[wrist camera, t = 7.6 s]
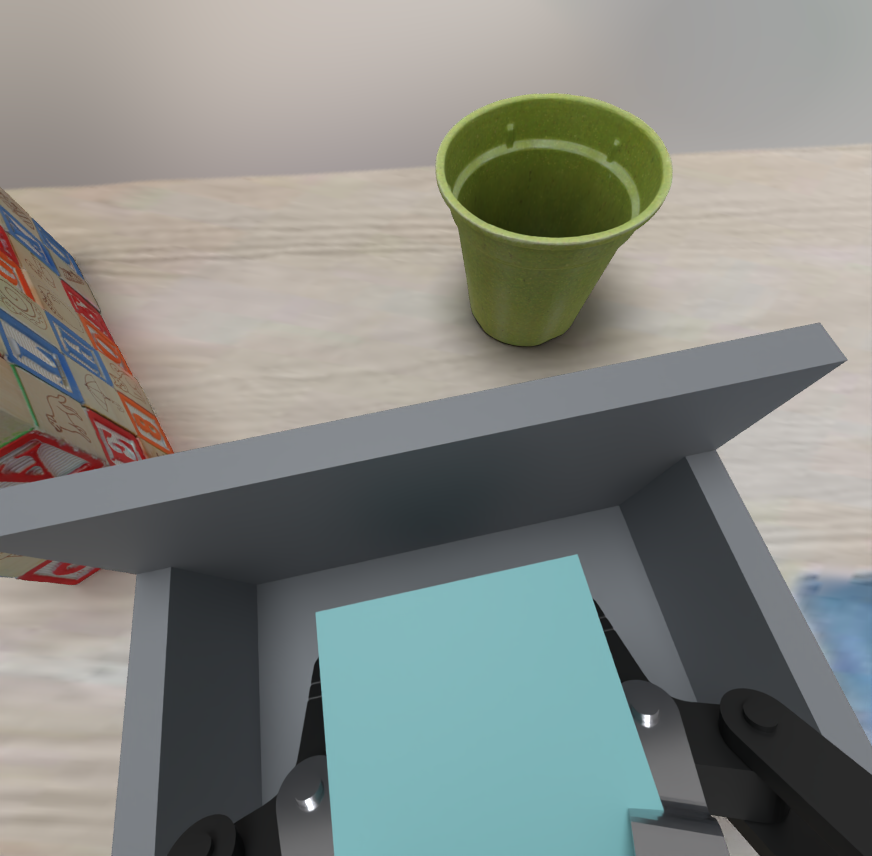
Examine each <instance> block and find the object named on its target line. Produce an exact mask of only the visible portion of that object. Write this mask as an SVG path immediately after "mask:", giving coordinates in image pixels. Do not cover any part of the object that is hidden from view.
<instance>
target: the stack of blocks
mask: <svg viewBox="0 0 872 856" xmlns="http://www.w3.org/2000/svg"><path fill="white" fill-rule="evenodd" d="M99 312H100V309H99V307H98V305H97V303H96V301H95V299H94V297H93V295H92V293H91V291H90V289H89V287H88V285H87V283H86V282H85V280H84V278H83V276H82V274H81V272H80V270H79V268H78V267H77V264H76V263H75V261H74V259H73V257H72V256H71V255H70V254H69V253H68V252H67V251H66V250H65V249H64V248H63V247H62V246H61V245H60V244H59V243H58V242H56V241H55V240H54V239H53V237H52V236H51V235H50V234H48V233H47V232H46V231H45V230H44V229H43V228H42V227H41V226H40V225H39V224H38V223H37V222H36V221H35V220H34V219H33V218H31V217H30V216H29V214H28V213H27V212H26V211H25V210H24V209H23V208H22V207H21V206H20V205H19V204H18V203H16V202H15V201H14V200H13V199H12V198H11V197H10V196H9V195H8V194H7V193H6V192H5V191H4V190H3V189H2V188H1V187H0V489H1V488H5V487H10V486H15V485H20V484H25V483H30V482H35V481H40V480H45V479H50V478H55V477H60V476H65V475H70V474H75V473H80V472H84V471H89V470H94V469H99V468H104V467H109V466H114V465H119V464H124V463H129V462H134V461H139V460H144V459H149V458H154V457H159V456H163V455H168V454H173V453H174V452H173V450H172V448H171V446H170V444H169V442H168V440H167V438H166V436H165V434H164V432H163V430H162V428H161V426H160V424H159V422H158V420H157V418H156V417H155V415H154V412H153V410H152V408H151V406H150V404H149V402H148V400H147V398H146V396H145V394H144V392H143V390H142V388H141V386H140V384H139V382H138V381H137V379H136V378H134V377H133V376H132V373H131V371H130V370H129V368H128V366H127V364H126V362H125V360H124V358H123V356H122V354H121V352H120V350H119V348H118V346H117V345H116V344H115V343H114V341H113V339H112V336H111V334H110V332H109V330H108V328H107V327H106V325H105V322H104V321H103V319H102V317H101V315H100V314H99ZM100 569H101V568H95V567H89V566H83V565H76V564H70V563H64V562H58V561H52V560H46V559H40V558H33V557H27V556H21V555H15V554H9V553H3V552H0V577H10V578H13V577H15V578H16V579H21V580H27V581H38V582H50V583H58V584H66V585H76V584H78V583H80V582H81V581H83V580H84V579H86V578H87V577H89V576H90V575H92V574H94V573H95V572H97V571H98V570H100Z"/></svg>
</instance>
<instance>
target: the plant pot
mask: <svg viewBox="0 0 872 856" xmlns="http://www.w3.org/2000/svg"><path fill="white" fill-rule="evenodd" d="M672 172H673V170H672V162H671V158H670V155H669V153H668V152H667V149H666V147H665V145H664V143H663V141H662V140H661V138H660V137H659V136H658V135H657V134H656V133H655V132H654V130H653V129H652V128H650V127H649V126H648V125H647V124H646V123H644V122H643V121H642V120H641V119H639V118H638V117H636V116H634V115H633V114H631V113H629V112H627V111H625V110H622V109H620V108H618V107H616V106H613V105H611V104H608V103H606V102H603V101H600V100H597V99H593V98H589V97H583V96H573V95H570V94H558V93H552V94H528V95H522V96H517V97H512V98H508V99H503V100H499V101H497V102H494V103H491V104H488V105H486V106H484V107H481V108H479V109H477V110H476V111H474V112H472V113H470V114H469V115H467V116H466V117H464V118H463V119H461V120H460V121H459V122H458V123H457V124H456V125H455V126H454V127H453V128H452V129H451V130H450V131H449V132H448V133H447V135H446V136H445V138H444V140H443V141H442V143H441V145H440V147H439V150H438V153H437V158H436V179H437V184H438V188H439V190H440V193H441V195H442V197H443V199H444V201H445V202H446V204H447V206H448V207H449V208H450V210H451V214H452V216H453V219H454V221H455V223H456V225H457V227H458V230H459V235H460V242H461V248H462V254H463V260H464V266H465V272H466V278H467V285H468V292H469V299H470V304H471V310H472V313H473V315H474V317H475V318H476V320H477V321H478V323H479V324H480V325H481V327H482V328H483V330H484V331H485V332H486V333H487V334H489V335H490V336H491V337H493V338H495V339H497V340H499V341H501V342H504V343H507V344H511V345H517V346H535V345H540V344H542V343H544V342H546V341H548V340H550V339H552V338H555V337H557V336H560V335H562V334H563V333H565V332H566V331H567V330H568V329H569V327H570V326H571V325H572V323H573V321H574V320H575V318H576V316H577V315H578V313H579V311H580V310H581V308H582V306H583V305H584V303H585V301H586V300H587V298H588V296H589V295H590V293H591V291H592V290H593V288H594V286H595V285H596V283H597V282H598V280H599V278H600V277H601V275H602V273H603V272H604V270H605V268H606V267H607V265H608V264H609V262H610V260H611V259H612V257H613V256H614V254H615V252H616V251H617V249H618V248H619V247H620V246H621V245H622V244H623V243H625V242H626V241H627V240H628V239H629V238H630V236H631V235H632V234H633V233H634V231H635V230H637V229H638V228H640V227H641V226H642V225H644V224H645V223H646V222H647V221H648V220H649V219H650V218H651V217H653V216H654V215H655V213H656V212H657V211H658V210H659V208H660V207H661V205H662V204H663V202H664V200H665V198H666V196H667V194H668V192H669V190H670V187H671V183H672Z"/></svg>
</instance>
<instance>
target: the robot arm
mask: <svg viewBox="0 0 872 856" xmlns="http://www.w3.org/2000/svg"><path fill="white" fill-rule="evenodd" d="M592 599H593V598H592ZM593 602H594V605H595V608H596V611H597V614H598V617H599V620H600V623H601V626H602V628H603V631H604V634H605V637H606V640H607V643H608V646H609V649H610V652H611V655H612V658H613V661H614V664H615V667H616V670H617V673H618V676H619V679H620V682H621V685H622V688H623V691H624V694H625V697H626V700H627V702H628V705H629V708H630V711H631V714H632V717H633V720H634V723H635V726H636V729H637V732H638V735H639V738H640V741H641V744H642V747H643V750H644V753H645V756H646V759H647V762H648V765H649V768H650V771H651V774H652V776H653V779H654V782H655V785H656V788H657V791H658V794H659V797H660V800H661V803H662V806H663V809H664V810H653V809H636V808H628V811H629V820H630V829H631V839H632V848H633V856H730V855H729V851H728V848H727V845H726V842H725V839H724V836H723V833H722V830H721V828H720V825H719V823H718V821H717V820H716V819H715V818H713V817H711V815H715V816H722V817H727V819H728V820H729V821H730V822H731V823H732V824H733V825H734V827H735V828H736V829H737V830H738V831H739V832H740V833H741V835H742V836H743V837H744V838H745V839H746V840H747V842H748V843H749V844H750V845H751V846H752V847H753V848H754V850H755V851H756V852H757V853H758V854H759V855H760V856H872V774H870V773H869V772H868V771H867V770H865V769H864V768H863V767H861V766H860V765H859V764H858V763H856V762H855V761H854V760H853V759H851V758H850V757H849V756H848V755H846V754H845V753H844V752H843V751H841V750H840V749H839V748H838V747H836V746H835V745H834V744H833V743H831V742H830V741H829V740H828V739H826V738H825V737H824V736H822V735H821V734H820V733H819V732H817V731H816V730H815V729H814V728H812V727H811V726H810V725H809V724H807V723H806V722H805V721H804V720H802V719H801V718H800V717H799V716H797V715H796V714H795V713H794V712H792V711H791V710H790V709H789V708H787V707H786V706H785V705H783V704H782V703H781V702H779V701H778V700H776V699H775V698H773V697H771V696H769V695H767V694H765V693H763V692H760V691H757V690H753V689H747V688H737V689H733V690H730V691H728V692H727V693H725V694H724V695H723V697H722V698H721V701H720V704H710V703H699V702H689V701H683V700H680V699H676V698H674V697H671V696H670V695H669V694H668V693H667V692H666V691H664V690H663V689H662V688H660V687H658V686H657V685H655V684H652V683H651V682H650V681H649V680H648V679H647V677H646V676H645V675H644V673H643V672H642V670H641V669H640V667H639V666H638V664H637V663H636V661H635V660H634V658H633V657H632V655H631V654H630V652H629V651H628V649H627V647H626V646H625V644H624V643H623V641H622V640H621V638H620V637H619V635H618V634H617V632H616V631H615V630H614V629H613V626H612V625H611V623H610V622H609V620H608V619H607V618H606V617H605V614H604V613H603V611H602V610H601V608H600V607H599V605H598V604H597V602H596V601H595V600H594V599H593ZM308 698H309V701H308V702H307V707H306V713H305V719H304V724H303V730H302V735H301V741H300V747H299V752H298V758H297V762H296V765H295V767H294V768H293V769H292V770H291V771H290V772H289V773H288V775H287V776H286V778H285V779H284V781H283V783H282V784H281V787H280V789H279V791H278V794H277V795H276V796H275V797H274V798H272V799H271V800H270V801H269V802H267V803H266V804H264V805H263V806H261V807H260V808H258V809H256V810H255V811H253V812H251V813H250V814H248V815H246V816H245V817H243V818H242V819H240V820H238V821H237V822H235V823H233V822H232V820H231V819H230V818H229V817H227V816H225V815H222V814H214V815H210V816H207V817H205V818H202V819H201V820H199V821H197V822H196V823H194V824H193V825H192V826H190V827H189V828H188V829H187V830H186V831H185V832H184V833H183V834H182V835H181V836H180V837H179V838H178V840H177V841H176V842H175V844H174V845H173V846H172V848H171V849H170V851H169V853H168V854H167V856H334V845H333V832H332V820H331V807H330V794H329V781H328V768H327V755H326V742H325V729H324V717H323V704H322V691H321V678H320V665H319V657H318V659H317V660H316V662H315V664H314V668H313V674H312V679H311V686H310V690H309V696H308Z"/></svg>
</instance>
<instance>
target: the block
mask: <svg viewBox="0 0 872 856" xmlns="http://www.w3.org/2000/svg"><path fill="white" fill-rule="evenodd" d="M315 614H316V627H317V639H318V652H319V665H320V678H321V691H322V704H323V717H324V729H325V742H326V755H327V768H328V781H329V794H330V807H331V820H332V832H333V845H334V856H633V848H632V839H631V829H630V820H629V811H628V808H636V809H653V810H664V809H663V806H662V803H661V800H660V797H659V794H658V791H657V788H656V785H655V782H654V779H653V776H652V774H651V771H650V768H649V765H648V762H647V759H646V756H645V753H644V750H643V747H642V744H641V741H640V738H639V735H638V732H637V729H636V726H635V723H634V720H633V717H632V714H631V711H630V708H629V705H628V702H627V700H626V697H625V694H624V691H623V688H622V685H621V682H620V679H619V676H618V673H617V670H616V667H615V664H614V661H613V658H612V655H611V652H610V649H609V646H608V643H607V640H606V637H605V634H604V631H603V628H602V626H601V623H600V620H599V617H598V614H597V611H596V608H595V605H594V602H593V599H592V596H591V593H590V590H589V587H588V584H587V581H586V578H585V575H584V572H583V569H582V566H581V563H580V560H579V557H578V554H576V555H571V556H567V557H562V558H558V559H553V560H549V561H544V562H540V563H535V564H531V565H526V566H522V567H517V568H513V569H508V570H504V571H499V572H495V573H490V574H486V575H481V576H477V577H472V578H468V579H463V580H459V581H454V582H450V583H445V584H441V585H436V586H432V587H427V588H423V589H418V590H414V591H409V592H405V593H400V594H396V595H391V596H387V597H382V598H378V599H373V600H369V601H364V602H360V603H355V604H351V605H346V606H342V607H337V608H333V609H328V610H324V611H319V612H315Z"/></svg>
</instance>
